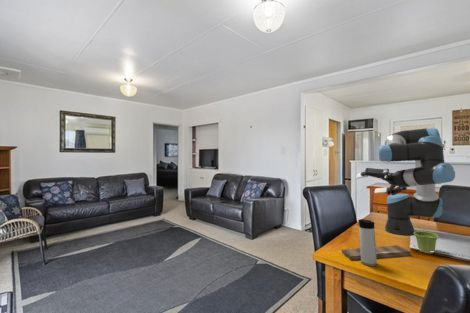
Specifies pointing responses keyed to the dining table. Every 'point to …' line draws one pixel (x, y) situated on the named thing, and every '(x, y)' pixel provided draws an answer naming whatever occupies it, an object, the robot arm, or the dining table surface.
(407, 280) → the dining table surface
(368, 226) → the travel mug
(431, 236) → the plant pot
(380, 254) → the walnut board
